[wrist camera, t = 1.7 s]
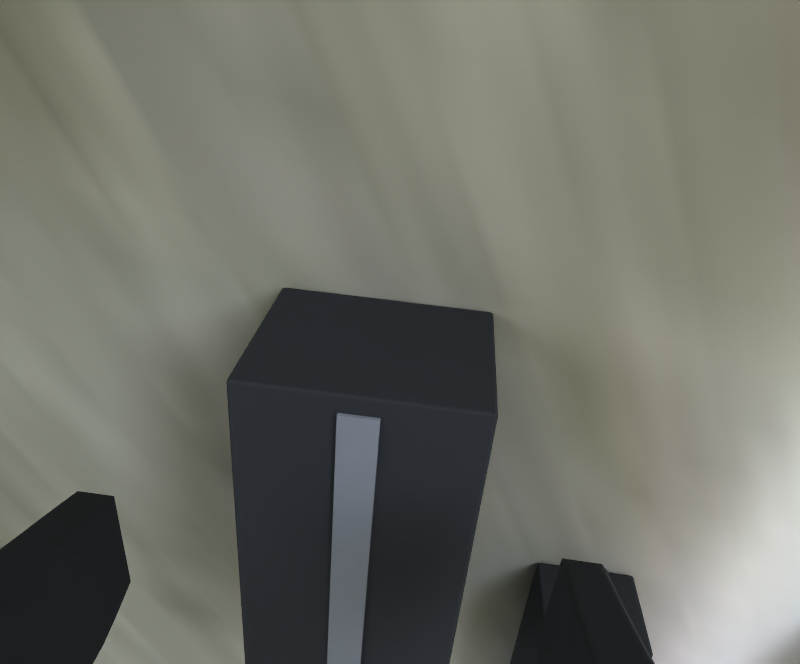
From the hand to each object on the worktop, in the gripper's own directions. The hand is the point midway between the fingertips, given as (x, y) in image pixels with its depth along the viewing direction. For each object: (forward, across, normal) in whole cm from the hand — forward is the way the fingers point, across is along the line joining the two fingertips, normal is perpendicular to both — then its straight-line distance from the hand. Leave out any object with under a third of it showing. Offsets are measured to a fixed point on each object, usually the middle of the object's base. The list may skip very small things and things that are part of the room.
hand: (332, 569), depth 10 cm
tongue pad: (+6, 0, +3) cm, 7 cm away
